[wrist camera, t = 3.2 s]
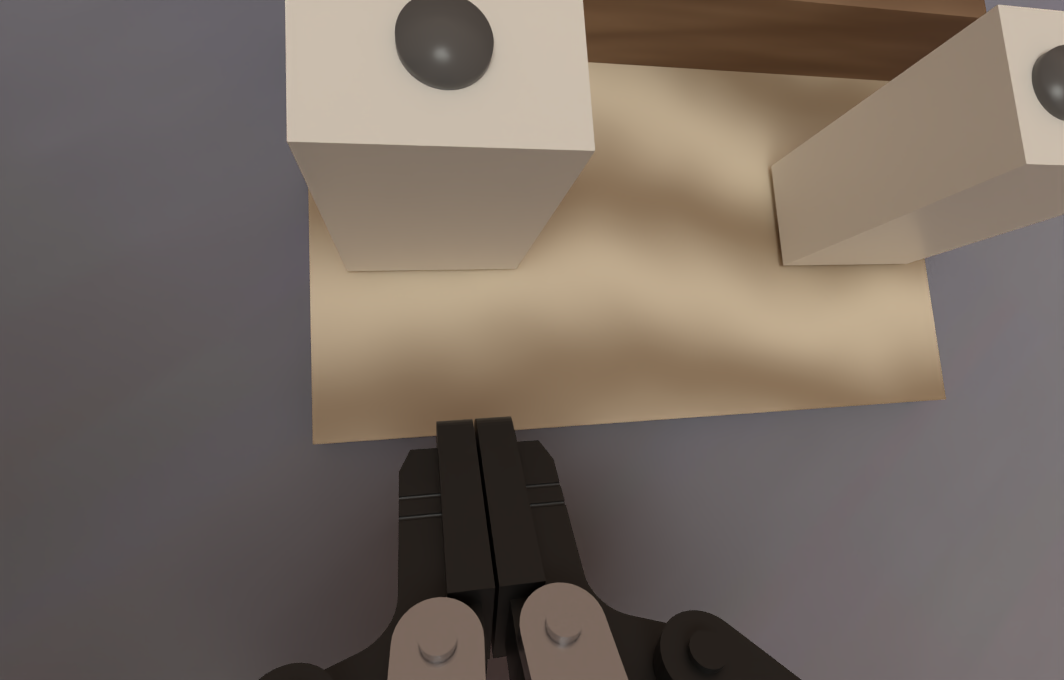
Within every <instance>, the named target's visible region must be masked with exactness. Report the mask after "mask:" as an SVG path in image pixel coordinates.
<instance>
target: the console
mask: <svg viewBox="0 0 1064 680" xmlns="http://www.w3.org/2000/svg"><path fill="white" fill-rule="evenodd" d="M583 9H584V21H585V33H586V45H587V57H588V69H589V82H590V94H591V106H592V118H593V130H594V142H595V152H594V153H593V155H592V156H591V158H590V159H589V161H588V162H587V164H586V165H585V167H584V168H583V170H582V171H581V173H580V174H579V176H578V177H577V179H576V180H575V182H574V183H573V185H572V186H571V188H570V189H569V191H568V192H567V194H566V195H565V197H564V198H563V200H562V201H561V203H560V204H559V206H558V207H557V209H556V210H555V212H554V213H553V215H552V216H551V218H550V219H549V221H548V222H547V224H546V225H545V227H544V228H543V230H542V231H541V233H540V234H539V235H538V237H537V238H536V240H535V241H534V243H533V244H532V246H531V247H530V249H529V250H528V252H527V253H526V255H525V256H524V258H523V259H522V261H521V262H520V264H519V265H518V267H517V268H516V269H474V270H399V271H347V270H346V268H345V265H344V263H343V261H342V259H341V257H340V255H339V253H338V250H337V248H336V246H335V244H334V242H333V240H332V237H331V235H330V233H329V231H328V229H327V227H326V225H325V222H324V220H323V218H322V216H321V214H320V212H319V209H318V207H317V205H316V203H315V201H314V199H313V196H312V194H311V192H310V190H309V188H308V193H309V251H310V309H311V367H312V425H313V444H326V443H340V442H354V441H368V440H382V439H396V438H410V437H424V436H436V421H448V420H463V419H472V420H473V424H474V420H475V419H476V418H491V417H506V416H511V418H512V421H513V426H514V430H522V429H536V428H550V427H564V426H578V425H592V424H606V423H620V422H634V421H648V420H662V419H676V418H690V417H704V416H718V415H731V414H745V413H759V412H773V411H787V410H801V409H815V408H829V407H843V406H857V405H871V404H885V403H899V402H913V401H927V400H941V399H946V397H945V390H944V384H943V377H942V371H941V364H940V358H939V351H938V345H937V338H936V332H935V325H934V319H933V312H932V305H931V299H930V292H929V286H928V279H927V273H926V266H925V260H924V259H921V260H917V261H914V262H911V263H908V264H858V265H784V266H783V259H782V251H781V243H780V234H779V226H778V218H777V210H776V202H775V193H774V185H773V177H772V169H771V166H772V165H773V164H775V163H776V162H777V161H779V160H780V159H782V158H783V157H784V156H786V155H787V154H789V153H790V152H792V151H793V150H794V149H796V148H797V147H799V146H800V145H801V144H803V143H804V142H806V141H807V140H808V139H810V138H811V137H813V136H814V135H815V134H817V133H818V132H820V131H821V130H822V129H824V128H825V127H827V126H828V125H829V124H831V123H832V122H834V121H835V120H837V119H838V118H839V117H841V116H842V115H844V114H845V113H846V112H848V111H849V110H851V109H852V108H853V107H855V106H856V105H858V104H859V103H860V102H862V101H863V100H865V99H866V98H867V97H869V96H870V95H872V94H873V93H874V92H876V91H877V90H879V89H880V88H881V87H883V86H884V85H886V84H887V83H889V82H890V81H891V80H893V79H894V78H896V77H897V76H898V75H900V74H901V73H903V72H904V71H905V70H907V69H908V68H910V67H911V66H912V65H914V64H915V63H917V62H918V61H919V60H921V59H922V58H924V57H925V56H926V55H928V54H929V53H931V52H932V51H934V50H935V49H936V48H938V47H939V46H941V45H942V44H943V43H945V42H946V41H948V40H949V39H950V38H952V37H953V36H955V35H956V34H957V33H959V32H960V31H962V30H963V29H964V28H966V27H967V26H969V25H970V24H971V23H973V22H974V21H976V20H977V19H978V18H980V17H981V16H983V15H984V14H986V7H985V2H984V0H583Z"/></svg>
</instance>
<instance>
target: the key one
mask: <svg viewBox="0 0 1064 680" xmlns="http://www.w3.org/2000/svg"><path fill="white" fill-rule="evenodd" d="M285 22H286V101H287V143H288V145H289V147H290V149H291V151H292V153H293V156H294V158H295V160H296V162H297V164H298V166H299V168H300V171H301V173H302V175H303V177H304V179H305V181H306V184H307V186H308V188H309V190H310V192H311V194H312V196H313V199H314V201H315V203H316V205H317V207H318V209H319V212H320V214H321V216H322V218H323V220H324V222H325V225H326V227H327V229H328V231H329V233H330V235H331V237H332V240H333V242H334V244H335V246H336V248H337V250H338V253H339V255H340V257H341V259H342V261H343V263H344V265H345V268H346V270H347V271H399V270H474V269H516V268H517V267H518V265H519V264H520V262H521V261H522V259H523V258H524V256H525V255H526V253H527V252H528V250H529V249H530V247H531V246H532V244H533V243H534V241H535V240H536V238H537V237H538V235H539V234H540V233H541V231H542V230H543V228H544V227H545V225H546V224H547V222H548V221H549V219H550V218H551V216H552V215H553V213H554V212H555V210H556V209H557V207H558V206H559V204H560V203H561V201H562V200H563V198H564V197H565V195H566V194H567V192H568V191H569V189H570V188H571V186H572V185H573V183H574V182H575V180H576V179H577V177H578V176H579V174H580V173H581V171H582V170H583V168H584V167H585V165H586V164H587V162H588V161H589V159H590V158H591V156H592V155H593V153H594V152H595V142H594V130H593V118H592V106H591V94H590V82H589V69H588V57H587V45H586V33H585V21H584V9H583V0H285Z"/></svg>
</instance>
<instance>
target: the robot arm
mask: <svg viewBox="0 0 1064 680" xmlns="http://www.w3.org/2000/svg"><path fill="white" fill-rule="evenodd" d="M436 438H437V448H432V449H418V450H410V452H409V454H408V456H407V458H406V460H405V462H404V464H403V465H402V467H401V469H400V471H399V551H398V603H397V607H396V611H395V614H394V616H393V619H392V621H391V623H390V624H389V626H388V628H387V629H386V630H385V632H384V633H383V634H382V635H381V636H380V637H379V638H378V639H377V640H376V641H375V642H374V643H373V644H372V645H370V646H369V647H368V648H366V649H365V650H363V651H361V652H359V653H358V654H356V655H354V656H352V657H349V658H347V659H345V660H343V661H341V662H339V663H337V664H335V665H333V666H331V667H329V668H327V669H325V670H323V669H321V668H320V667H318V666H315V665H312V664H308V663H293V664H288V665H284V666H281V667H279V668H276V669H274V670H272V671H270V672H269V673H267V674H265V675H264V676H263V677H261V678H260V679H259V680H486V672H487V659H489V657H490V645H491V644H492V653H493V658H497V657H503V656H507V662H508V670H509V677H510V680H801V679H800V678H798V677H797V676H796V675H794V674H793V673H792V672H790V671H789V670H788V669H786V668H785V667H784V666H783V665H781V664H780V663H779V662H777V661H776V660H775V659H773V658H772V657H771V656H769V655H768V654H767V653H765V652H764V651H763V650H762V649H760V648H759V647H758V646H756V645H755V644H754V643H752V642H751V641H750V640H748V639H747V638H746V637H744V636H743V635H742V634H741V633H739V632H738V631H737V630H735V629H734V628H733V627H731V626H730V625H729V624H727V623H726V622H725V621H723V620H722V619H720V618H719V617H717V616H714V615H712V614H710V613H707V612H703V611H697V610H692V611H684V612H681V613H679V614H676V615H675V616H674V617H672V618H671V619H670V620H669V621H668V622H667V623H663V622H659V621H654V620H649V619H644V618H640V617H635V616H630V615H627V614H623V613H621V612H618V611H616V610H614V609H612V608H611V607H609V606H608V605H606V604H605V603H604V602H602V601H601V600H600V599H599V598H598V597H597V596H596V595H595V594H594V592H593V591H592V589H591V588H590V586H589V585H588V583H587V581H586V578H585V575H584V572H583V569H582V565H581V561H580V557H579V554H578V550H577V546H576V542H575V538H574V535H573V531H572V527H571V523H570V520H569V516H568V512H567V508H566V505H565V504H564V497H563V493H562V490H561V486H560V485H559V478H558V475H557V471H556V467H555V463H554V460H553V458H552V457H551V456H550V454H549V453H548V452H547V451H546V450H545V448H544V447H543V446H542V445H541V443H540V442H539V441H538V440H536V441H523V442H517V440H516V435H515V430H514V426H513V421H512V418H511V416H506V417H491V418H476V419H475V420H474V424H473V420H472V419H463V420H448V421H436Z"/></svg>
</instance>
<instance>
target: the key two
mask: <svg viewBox="0 0 1064 680" xmlns="http://www.w3.org/2000/svg"><path fill="white" fill-rule="evenodd" d="M771 169H772V177H773V185H774V193H775V202H776V210H777V218H778V226H779V234H780V243H781V251H782V259H783V266H784V265H858V264H908V263H911V262H914V261H917V260H921V259H924V258H927V257H930V256H933V255H936V254H940V253H943V252H946V251H949V250H952V249H955V248H959V247H962V246H965V245H968V244H971V243H974V242H978V241H981V240H984V239H987V238H990V237H993V236H997V235H1000V234H1003V233H1006V232H1009V231H1012V230H1016V229H1019V228H1022V227H1025V226H1028V225H1031V224H1035V223H1038V222H1041V221H1044V220H1047V219H1050V218H1054V217H1057V216H1060V215H1063V214H1064V11H1056V10H1046V9H1036V8H1026V7H1016V6H1006V5H997V6H995V7H994V8H993V9H991V10H990V11H988V12H987V13H986V14H984V15H983V16H981V17H980V18H978V19H977V20H976V21H974V22H973V23H971V24H970V25H969V26H967V27H966V28H964V29H963V30H962V31H960V32H959V33H957V34H956V35H955V36H953V37H952V38H950V39H949V40H948V41H946V42H945V43H943V44H942V45H941V46H939V47H938V48H936V49H935V50H934V51H932V52H931V53H929V54H928V55H926V56H925V57H924V58H922V59H921V60H919V61H918V62H917V63H915V64H914V65H912V66H911V67H910V68H908V69H907V70H905V71H904V72H903V73H901V74H900V75H898V76H897V77H896V78H894V79H893V80H891V81H890V82H889V83H887V84H886V85H884V86H883V87H881V88H880V89H879V90H877V91H876V92H874V93H873V94H872V95H870V96H869V97H867V98H866V99H865V100H863V101H862V102H860V103H859V104H858V105H856V106H855V107H853V108H852V109H851V110H849V111H848V112H846V113H845V114H844V115H842V116H841V117H839V118H838V119H837V120H835V121H834V122H832V123H831V124H829V125H828V126H827V127H825V128H824V129H822V130H821V131H820V132H818V133H817V134H815V135H814V136H813V137H811V138H810V139H808V140H807V141H806V142H804V143H803V144H801V145H800V146H799V147H797V148H796V149H794V150H793V151H792V152H790V153H789V154H787V155H786V156H784V157H783V158H782V159H780V160H779V161H777V162H776V163H775V164H773V165H772V166H771Z"/></svg>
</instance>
